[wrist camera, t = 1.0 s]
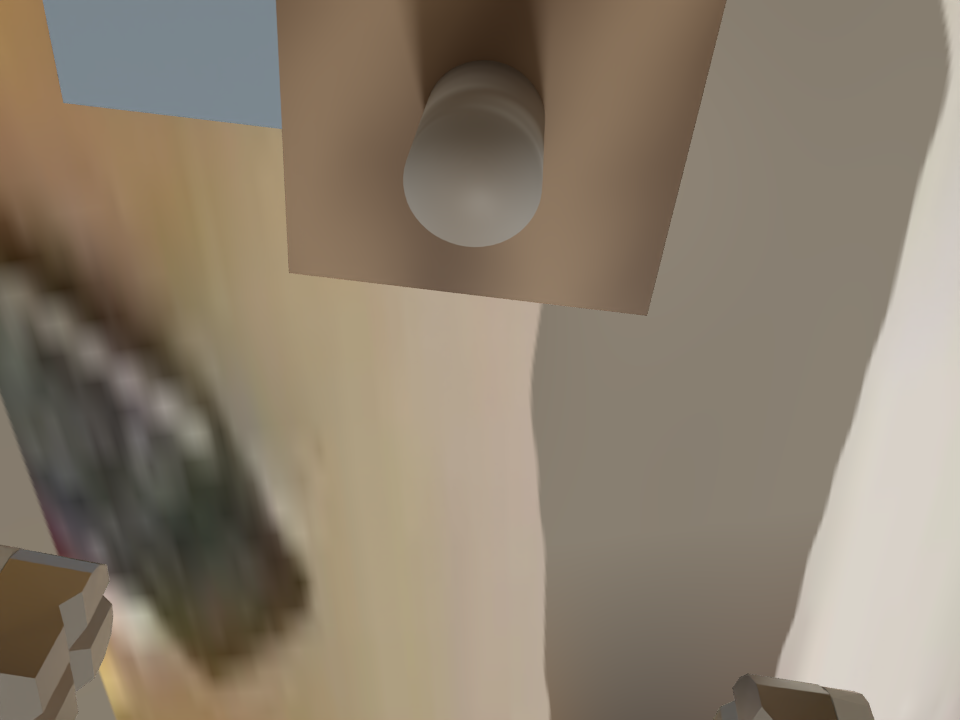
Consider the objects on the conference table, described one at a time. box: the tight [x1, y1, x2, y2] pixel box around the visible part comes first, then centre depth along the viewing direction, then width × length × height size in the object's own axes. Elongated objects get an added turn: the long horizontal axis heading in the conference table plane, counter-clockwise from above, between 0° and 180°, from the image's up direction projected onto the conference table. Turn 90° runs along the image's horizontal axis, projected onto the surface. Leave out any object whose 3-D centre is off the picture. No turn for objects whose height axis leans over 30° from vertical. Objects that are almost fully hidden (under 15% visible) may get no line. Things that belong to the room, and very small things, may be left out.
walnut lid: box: [276, 0, 726, 316], centre depth 22 cm, size 11×11×5 cm
